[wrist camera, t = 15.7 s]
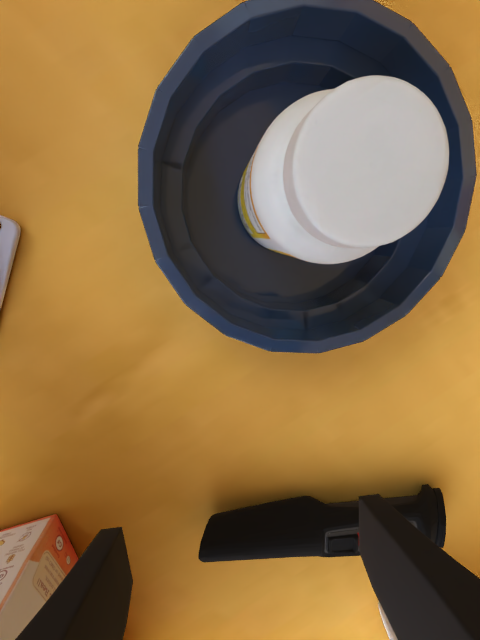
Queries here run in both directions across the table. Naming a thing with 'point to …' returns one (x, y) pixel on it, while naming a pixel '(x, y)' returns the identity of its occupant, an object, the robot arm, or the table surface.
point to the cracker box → (31, 570)
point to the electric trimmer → (309, 527)
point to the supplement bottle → (345, 171)
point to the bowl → (239, 146)
